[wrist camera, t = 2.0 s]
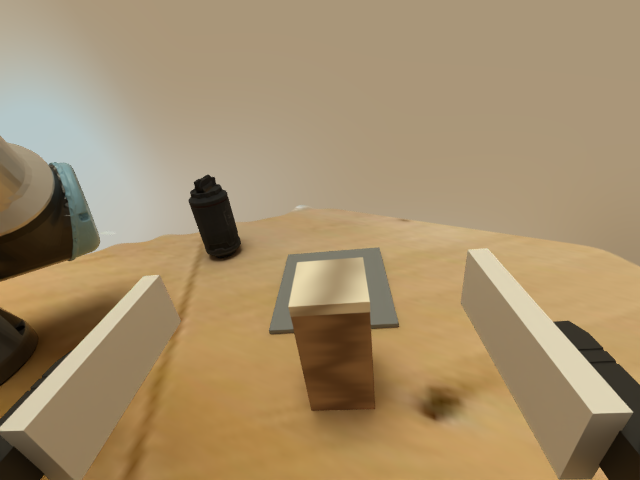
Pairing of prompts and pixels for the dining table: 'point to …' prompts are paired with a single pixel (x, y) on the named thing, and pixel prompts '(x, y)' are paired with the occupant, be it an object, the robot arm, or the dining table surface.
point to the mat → (376, 283)
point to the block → (334, 333)
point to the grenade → (214, 217)
